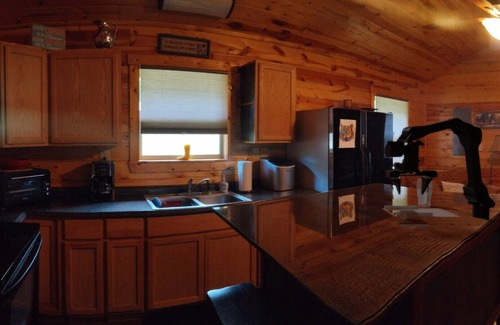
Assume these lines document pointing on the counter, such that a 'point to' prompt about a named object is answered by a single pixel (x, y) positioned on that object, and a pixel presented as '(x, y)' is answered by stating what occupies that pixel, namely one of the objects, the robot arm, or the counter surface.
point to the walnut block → (409, 215)
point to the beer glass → (426, 197)
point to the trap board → (420, 211)
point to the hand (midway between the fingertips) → (410, 194)
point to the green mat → (413, 224)
